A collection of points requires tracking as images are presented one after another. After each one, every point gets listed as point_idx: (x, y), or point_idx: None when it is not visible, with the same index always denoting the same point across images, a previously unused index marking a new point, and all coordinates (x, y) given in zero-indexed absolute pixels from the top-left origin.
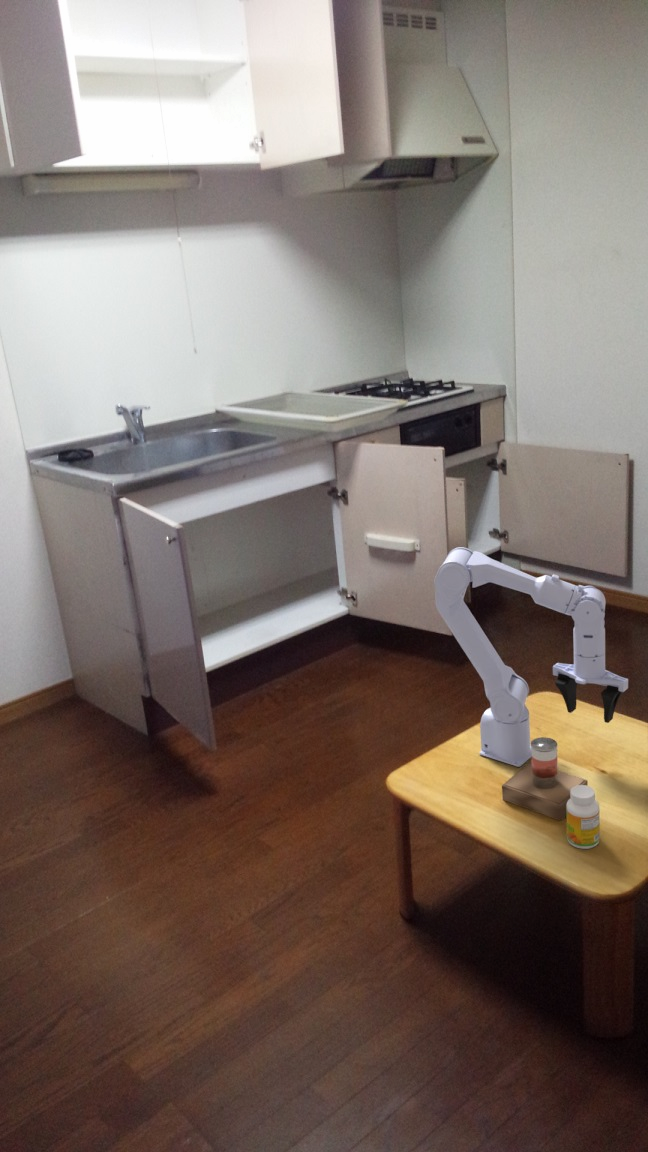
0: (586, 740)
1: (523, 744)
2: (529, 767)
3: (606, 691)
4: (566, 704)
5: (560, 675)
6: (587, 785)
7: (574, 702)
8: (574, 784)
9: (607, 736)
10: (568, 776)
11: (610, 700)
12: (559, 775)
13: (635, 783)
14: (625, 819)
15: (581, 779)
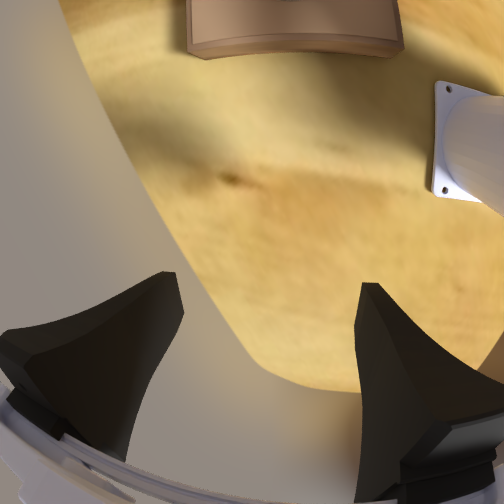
0: (340, 295)
1: (468, 125)
2: (381, 14)
3: (27, 384)
4: (393, 304)
5: (478, 483)
6: (194, 54)
7: (361, 345)
8: (203, 7)
9: (302, 328)
10: (243, 28)
11: (33, 329)
12: (270, 16)
13: (145, 176)
14: (100, 49)
15: (200, 39)
